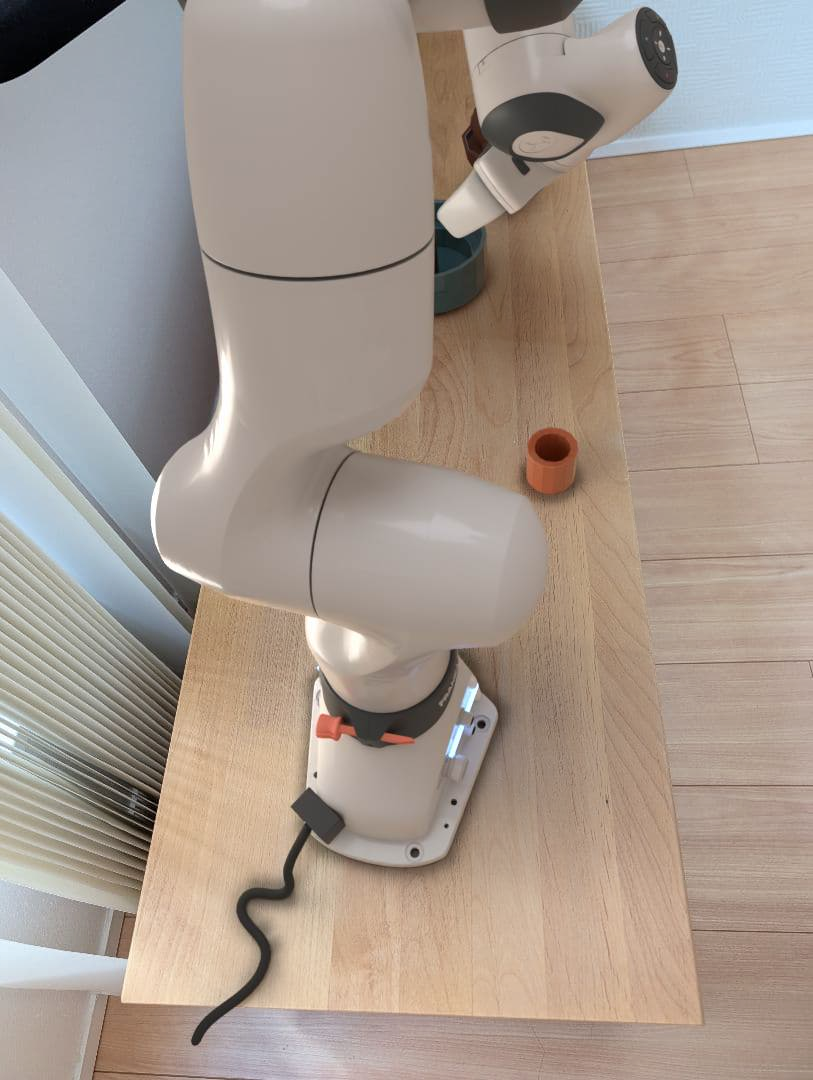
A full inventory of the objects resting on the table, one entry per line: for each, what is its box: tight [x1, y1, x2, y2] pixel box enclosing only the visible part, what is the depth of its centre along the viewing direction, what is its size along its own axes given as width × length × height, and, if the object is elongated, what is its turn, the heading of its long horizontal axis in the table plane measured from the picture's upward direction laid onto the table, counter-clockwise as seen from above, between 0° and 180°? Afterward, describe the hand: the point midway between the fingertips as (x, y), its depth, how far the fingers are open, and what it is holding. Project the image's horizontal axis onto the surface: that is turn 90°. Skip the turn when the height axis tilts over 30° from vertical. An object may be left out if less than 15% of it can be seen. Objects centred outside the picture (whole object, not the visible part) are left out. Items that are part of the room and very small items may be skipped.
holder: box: [525, 426, 579, 495], centre depth 87 cm, size 5×6×6 cm
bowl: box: [434, 198, 489, 315], centre depth 105 cm, size 15×15×7 cm
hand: (464, 194), depth 93 cm, fingers open, 8 cm apart
